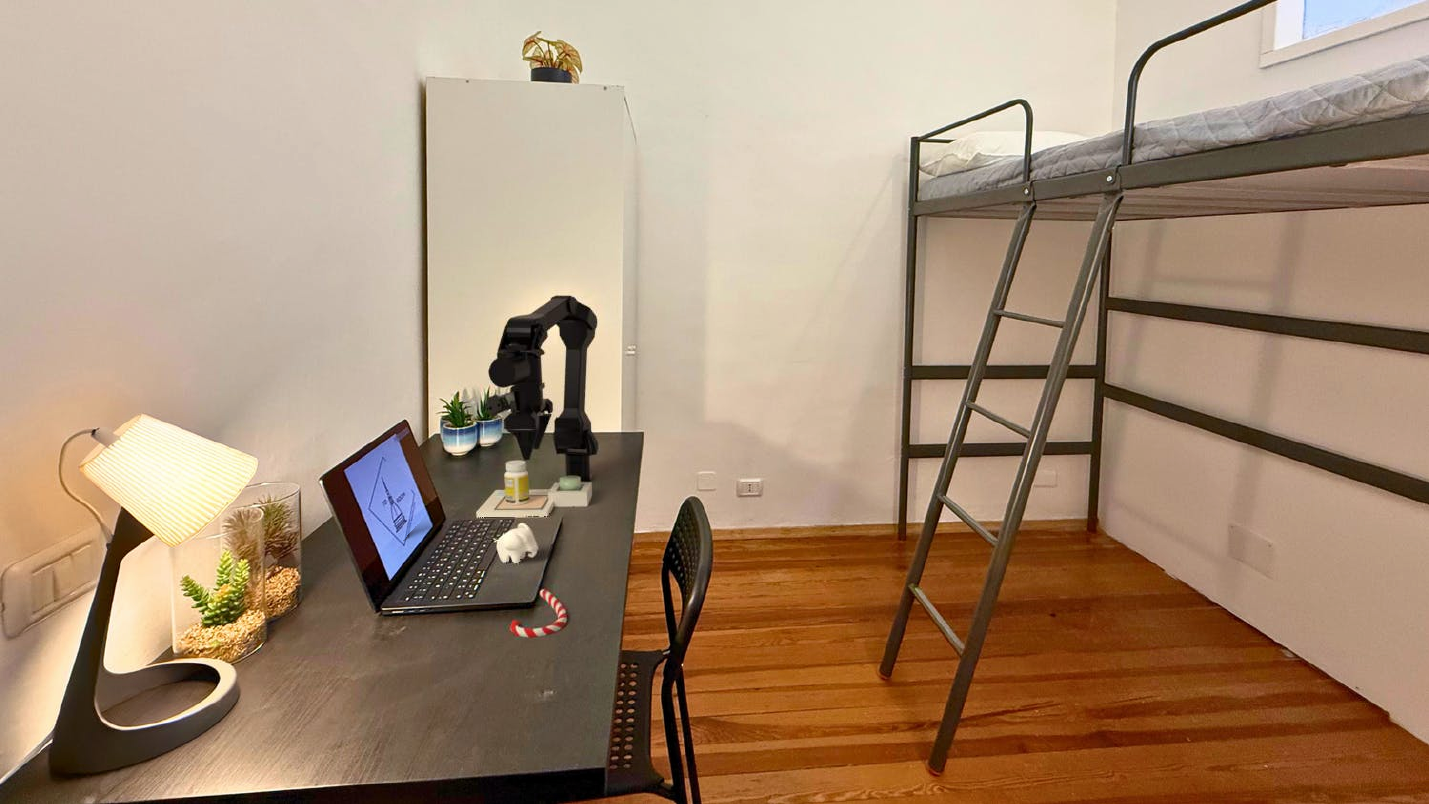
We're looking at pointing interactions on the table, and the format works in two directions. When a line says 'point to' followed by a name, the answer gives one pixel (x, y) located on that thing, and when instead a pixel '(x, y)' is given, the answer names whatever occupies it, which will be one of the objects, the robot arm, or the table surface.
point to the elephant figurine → (516, 544)
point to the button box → (570, 496)
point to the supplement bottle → (516, 483)
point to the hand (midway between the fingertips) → (531, 454)
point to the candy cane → (548, 629)
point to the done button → (570, 483)
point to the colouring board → (500, 508)
